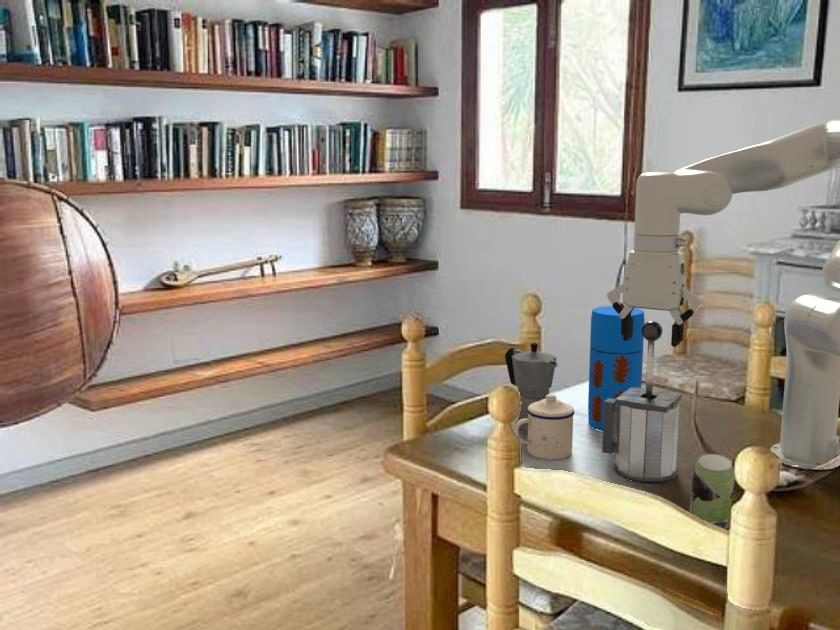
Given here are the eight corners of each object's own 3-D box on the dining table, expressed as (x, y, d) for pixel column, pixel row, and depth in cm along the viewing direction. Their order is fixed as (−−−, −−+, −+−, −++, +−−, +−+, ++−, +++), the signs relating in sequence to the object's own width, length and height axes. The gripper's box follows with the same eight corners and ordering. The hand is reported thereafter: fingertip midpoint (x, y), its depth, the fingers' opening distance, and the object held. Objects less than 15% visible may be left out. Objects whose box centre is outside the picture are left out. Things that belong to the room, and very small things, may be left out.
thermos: (644, 433, 175) (650, 315, 170) (592, 433, 175) (596, 316, 170) (632, 417, 186) (637, 305, 181) (583, 417, 186) (587, 305, 181)
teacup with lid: (561, 442, 171) (562, 386, 168) (581, 458, 162) (583, 399, 160) (505, 448, 168) (506, 391, 165) (522, 464, 159) (523, 405, 157)
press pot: (684, 467, 157) (688, 393, 154) (666, 488, 148) (670, 409, 145) (614, 454, 164) (617, 382, 161) (593, 473, 155) (595, 397, 152)
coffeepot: (570, 428, 179) (572, 345, 175) (538, 437, 174) (539, 352, 170) (520, 410, 191) (522, 332, 188) (489, 418, 186) (490, 338, 182)
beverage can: (720, 519, 135) (725, 448, 133) (738, 540, 128) (744, 465, 126) (681, 519, 135) (685, 449, 133) (697, 541, 128) (702, 466, 126)
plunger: (673, 413, 154) (678, 319, 150) (661, 424, 148) (666, 327, 145) (634, 407, 158) (639, 315, 154) (621, 418, 152) (625, 322, 148)
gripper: (712, 245, 145) (706, 343, 149) (615, 239, 154) (611, 332, 158) (701, 249, 139) (695, 352, 142) (600, 243, 148) (597, 340, 152)
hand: (651, 341), depth 150 cm, fingers open, 8 cm apart
